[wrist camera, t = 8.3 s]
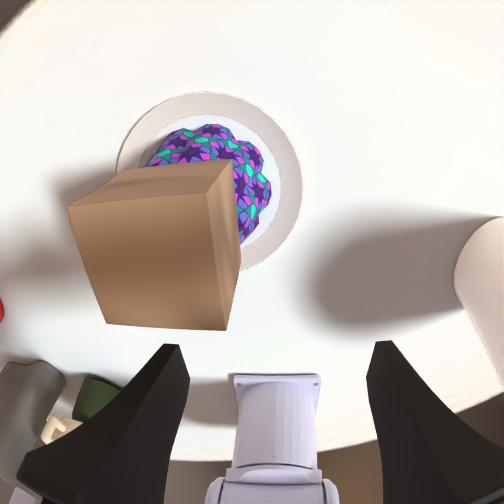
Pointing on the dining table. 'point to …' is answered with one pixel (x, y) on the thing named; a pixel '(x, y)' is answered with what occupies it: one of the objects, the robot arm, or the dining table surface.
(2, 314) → the canned food
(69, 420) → the character mug
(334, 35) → the dining table surface
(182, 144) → the pudding
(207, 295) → the walnut block
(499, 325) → the candle holder
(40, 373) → the flask
